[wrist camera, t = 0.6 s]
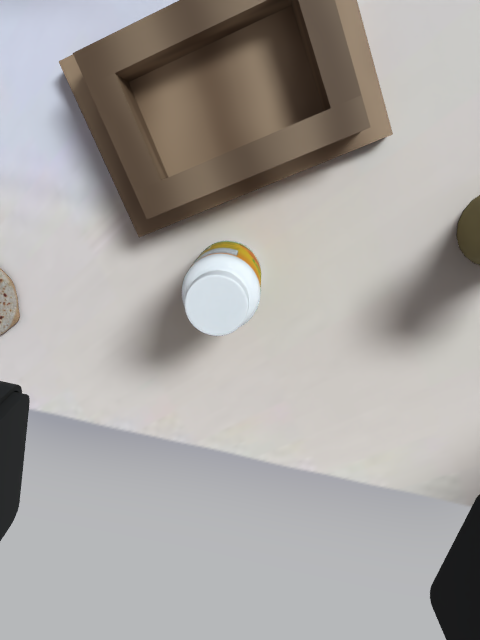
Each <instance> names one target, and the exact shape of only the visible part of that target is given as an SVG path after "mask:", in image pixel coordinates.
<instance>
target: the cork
mask: <svg viewBox="0 0 480 640" xmlns="http://www.w3.org/2000/svg"><path fill="white" fill-rule="evenodd" d="M457 240H458V245H459V248H460V249H461V251H462V253H463V254H464V256H465V257H466V258H468V259H469V260H470V261H472V262H473V263H475V264H479V265H480V195H479V196H478V197H477V198H475V199H474V200H472V201H471V202H470V204H469V205H468V206H467V207H466V209H465V210H464V211H463V213H462V215H461V217H460V220H459V222H458V227H457Z"/></svg>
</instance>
